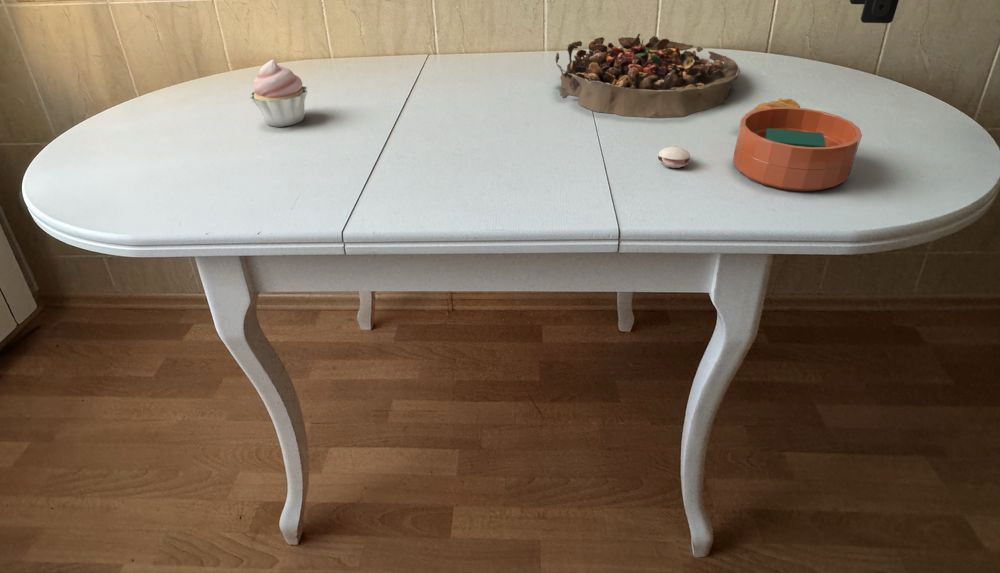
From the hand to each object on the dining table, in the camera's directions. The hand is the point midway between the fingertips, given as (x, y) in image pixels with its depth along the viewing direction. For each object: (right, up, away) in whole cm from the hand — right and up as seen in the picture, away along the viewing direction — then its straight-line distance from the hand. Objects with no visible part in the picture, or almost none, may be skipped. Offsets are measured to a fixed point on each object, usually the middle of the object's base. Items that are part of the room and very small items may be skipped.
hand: (869, 12), depth 74 cm
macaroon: (-20, -16, +13) cm, 28 cm away
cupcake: (-80, -5, +31) cm, 86 cm away
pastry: (-2, -8, +22) cm, 24 cm away
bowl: (-5, -17, +10) cm, 20 cm away
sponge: (-5, -16, +10) cm, 20 cm away
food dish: (-18, +5, +41) cm, 45 cm away
